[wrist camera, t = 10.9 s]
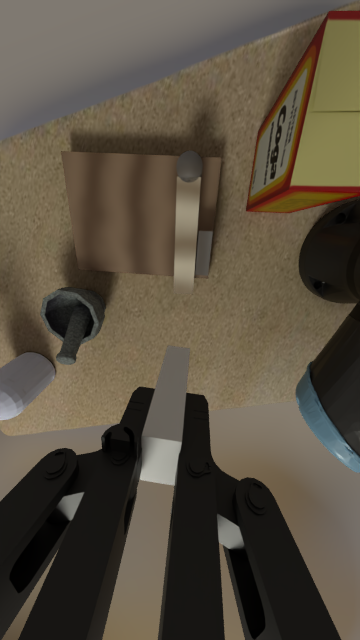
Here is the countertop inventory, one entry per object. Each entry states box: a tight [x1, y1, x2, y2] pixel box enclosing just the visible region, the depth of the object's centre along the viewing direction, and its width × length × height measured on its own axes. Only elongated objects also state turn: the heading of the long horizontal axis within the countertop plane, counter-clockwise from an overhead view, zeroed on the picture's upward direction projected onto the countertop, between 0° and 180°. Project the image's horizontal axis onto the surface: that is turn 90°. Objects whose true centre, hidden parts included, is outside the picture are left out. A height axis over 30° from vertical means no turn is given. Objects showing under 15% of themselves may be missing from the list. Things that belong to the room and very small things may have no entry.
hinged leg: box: [174, 151, 203, 295], centre depth 28 cm, size 18×3×3 cm, turn 178°
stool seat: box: [61, 151, 222, 279], centre depth 30 cm, size 22×16×6 cm
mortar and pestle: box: [40, 287, 106, 365], centre depth 34 cm, size 11×9×12 cm
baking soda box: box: [246, 11, 360, 213], centre depth 21 cm, size 10×6×16 cm
